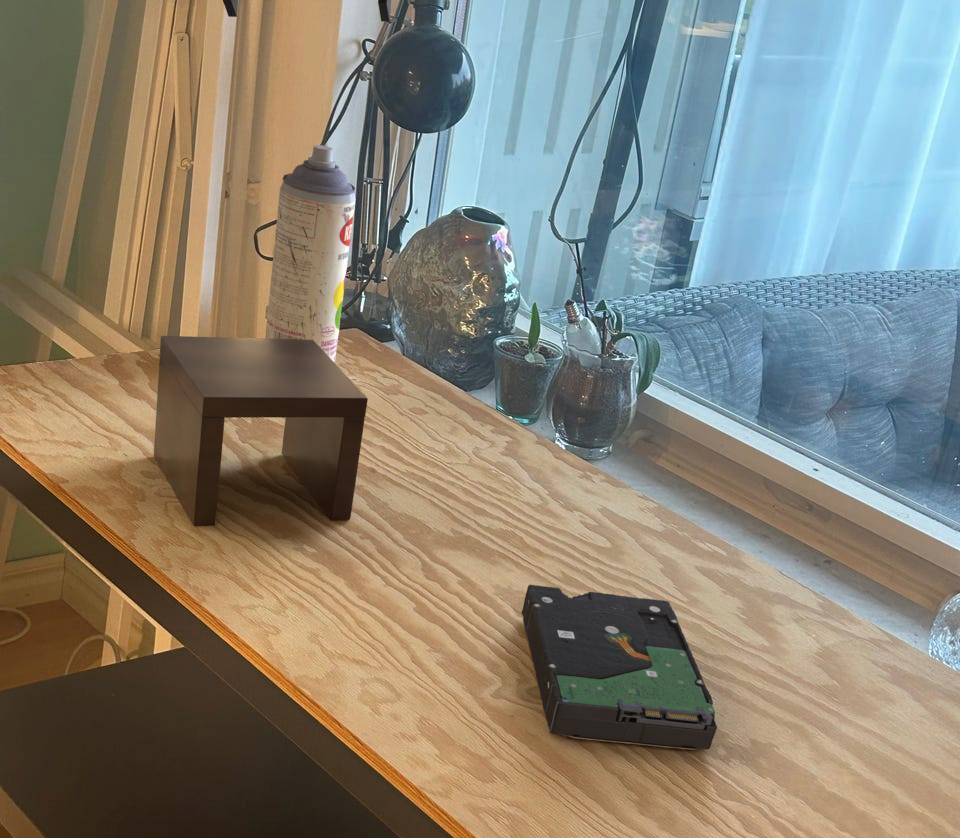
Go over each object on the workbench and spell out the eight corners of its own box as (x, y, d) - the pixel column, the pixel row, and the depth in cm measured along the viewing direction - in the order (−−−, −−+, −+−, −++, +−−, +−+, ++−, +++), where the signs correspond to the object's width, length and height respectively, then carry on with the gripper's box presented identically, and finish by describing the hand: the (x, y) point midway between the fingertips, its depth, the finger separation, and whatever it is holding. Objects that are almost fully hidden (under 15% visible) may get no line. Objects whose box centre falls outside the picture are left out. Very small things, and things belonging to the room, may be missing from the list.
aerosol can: (337, 378, 126) (365, 161, 116) (265, 371, 124) (287, 150, 114) (331, 354, 131) (357, 144, 122) (261, 346, 130) (282, 133, 120)
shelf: (153, 456, 104) (160, 335, 99) (299, 454, 109) (313, 339, 104) (193, 526, 95) (203, 397, 90) (350, 520, 100) (368, 398, 95)
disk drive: (516, 618, 92) (548, 740, 79) (524, 582, 90) (558, 700, 78) (660, 633, 94) (713, 754, 81) (669, 598, 92) (725, 716, 79)
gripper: (463, -176, 122) (450, 39, 119) (195, -183, 123) (176, 30, 120) (459, -240, 115) (446, -13, 112) (174, -247, 116) (153, -22, 113)
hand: (306, 10), depth 116 cm, fingers open, 13 cm apart
